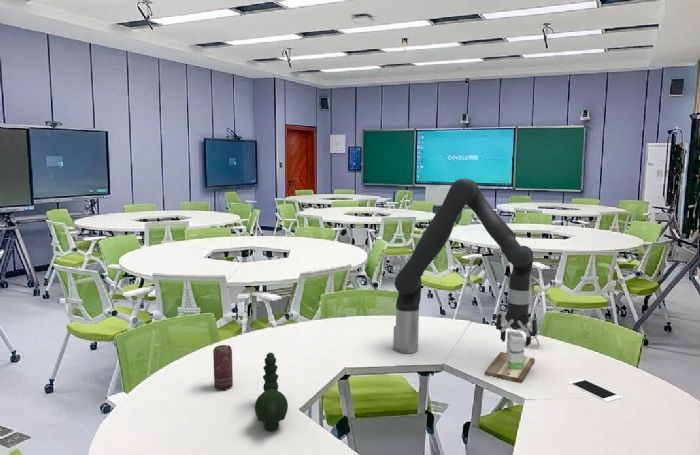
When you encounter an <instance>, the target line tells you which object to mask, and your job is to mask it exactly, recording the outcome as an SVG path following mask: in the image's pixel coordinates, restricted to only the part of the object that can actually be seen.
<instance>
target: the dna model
mask: <svg viewBox="0 0 700 455" xmlns="http://www.w3.org/2000/svg"><path fill="white" fill-rule="evenodd" d="M530 278H532V279H534V280H535V281H533V282H530V285H529V287H530V286H532V285H534V284H536V283H538V284H539V285H540V291H539V290H536V289H531V288H529V292H531V294H534V295H532V296H531V297H529V299H530V300H532V299H534V298H536V297H537V298H538V299H539V301H540V302H539V305H537V304H535V305H534V304H533V303H530V302H529V306H530V307H532V308H533V310H531V311H528V315H529V314H531V313H534V312H535V311H536V312H537V313H538V315H539V317H538V319H537V334H536V336H532V337H531V341H532V340H534V339H535V340H536V342H537V346H536V349H539V347H540V341H539V339H538V336H539V335H540V333H541V328H540V325H539V324H538V323H539V322H540V321H541V318H542V314H541V312H540V311H539V309H540V308H541V306H542V304H543V302H542V298H541V297H540V296H539V295H540V294H541V293H542V292H543V290H544V289H543V288H544V287H543V284H542V283H541V282H540V280H542V277H539V278H538V279H537V278H536V277H534V276H532V275H531V274H530ZM534 291H535V292H534ZM537 292H538V293H537ZM535 306H536V307H535ZM528 317H529V319H535V318H533V317H530V316H528ZM527 326H528V327H529V328H532V325H531V324H530V325H527ZM524 346H526V340H525V341H524Z"/></svg>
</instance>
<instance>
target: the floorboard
mask: <svg viewBox="0 0 700 455" xmlns="http://www.w3.org/2000/svg"><path fill="white" fill-rule="evenodd" d="M535 360H536V359H535V358H534V357H531V356H527V355H524V364H523V369H510V367H509V365H508V363H507V361H506V352H502V351H500V352H499V353H498V354H497V356H495V358H494V359H493V360H492V362H491V363H490V364H489V365H488V367H487V368H486V369H485V370H484V376H486V377H490V376H492V377H491V378H495V377H497V378H496V379H499V378H501V379H500V380H504V379H505V381H509V380H510V381H509V382H514V383H518V384H522V383H523V382H524V381H525V379H526V377H527V375H528V373H529V371H530V370H531V369H532V367H533V366H534V364H535Z"/></svg>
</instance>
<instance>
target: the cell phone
mask: <svg viewBox="0 0 700 455" xmlns="http://www.w3.org/2000/svg"><path fill="white" fill-rule="evenodd" d="M567 384H568V385H570V386H572V385H573V386H572V387H574V386H575V388H576V387H577V389H578V388H579V389H578V390H581V391H583V392H586V393H587V394H589V395H591V396H593V397H595V398H597V399H599V400H601V401H604V402H606V403H610V402H613V401H616V400H620V399H623V397H624V396H622V395H621V394H620V395H619V393H615V392H613V391H611V390H609V389H607V388H604V387H602V386H600V385H598V384H596V383H594V382H592V381H589V380H587V379H585V378H579V379H575V380H571V381H568V382H567Z"/></svg>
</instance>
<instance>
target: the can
mask: <svg viewBox="0 0 700 455" xmlns="http://www.w3.org/2000/svg"><path fill="white" fill-rule="evenodd" d="M212 355H213V357H212V358H213V386H214V389H215V388H216V389H218V390H217V391H219V390H225V391H227V390H226V389H229V388H230V389H232V387H233V386H234V385H233V384H234V382H233V381H234V380H233V377H234V376H233V375H234V374H233V349H232V347H231V345H228V344H226V345H225V344H222V345H216V346H215V347H214V348H213V351H212ZM230 389H229V390H230Z"/></svg>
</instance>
